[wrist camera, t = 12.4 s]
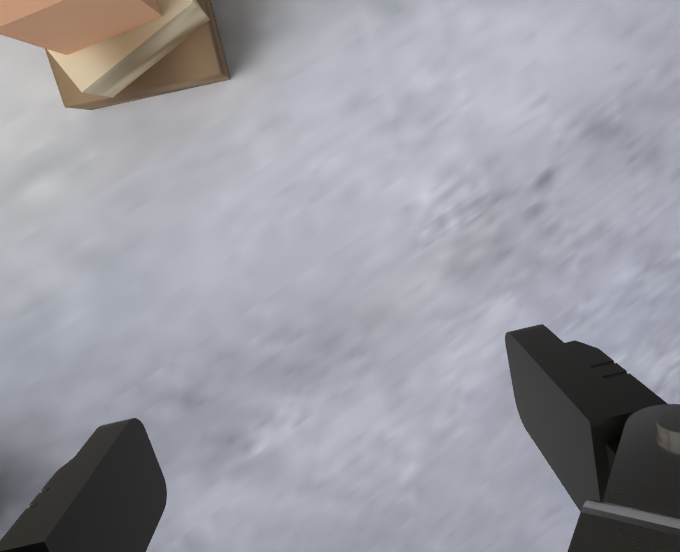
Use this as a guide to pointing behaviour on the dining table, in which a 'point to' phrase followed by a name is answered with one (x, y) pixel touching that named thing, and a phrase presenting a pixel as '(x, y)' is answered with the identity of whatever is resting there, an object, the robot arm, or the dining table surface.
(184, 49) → the tower base
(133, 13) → the peach cube on top
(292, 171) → the dining table surface
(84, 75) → the tower middle
